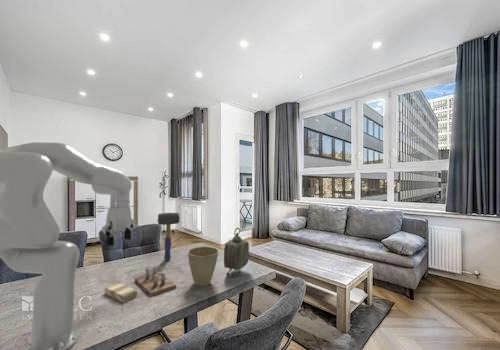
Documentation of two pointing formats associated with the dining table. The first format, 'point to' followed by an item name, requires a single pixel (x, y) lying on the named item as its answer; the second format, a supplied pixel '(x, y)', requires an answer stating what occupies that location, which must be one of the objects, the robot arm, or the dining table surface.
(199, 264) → the plant pot
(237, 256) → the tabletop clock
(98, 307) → the dining table surface
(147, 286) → the wooden peg stand
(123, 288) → the oak board
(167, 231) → the rubber mallet
